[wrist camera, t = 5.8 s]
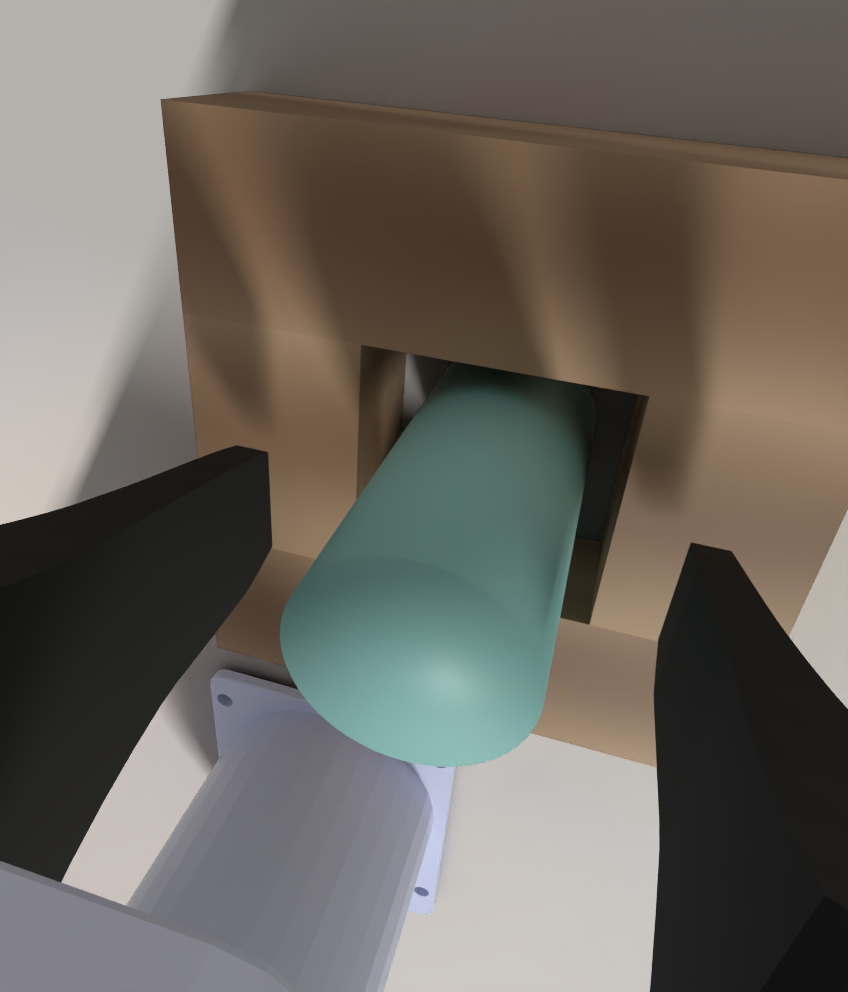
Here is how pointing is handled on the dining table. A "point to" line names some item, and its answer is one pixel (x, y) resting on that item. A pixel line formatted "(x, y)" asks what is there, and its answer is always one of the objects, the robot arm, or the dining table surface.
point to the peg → (449, 573)
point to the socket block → (523, 342)
